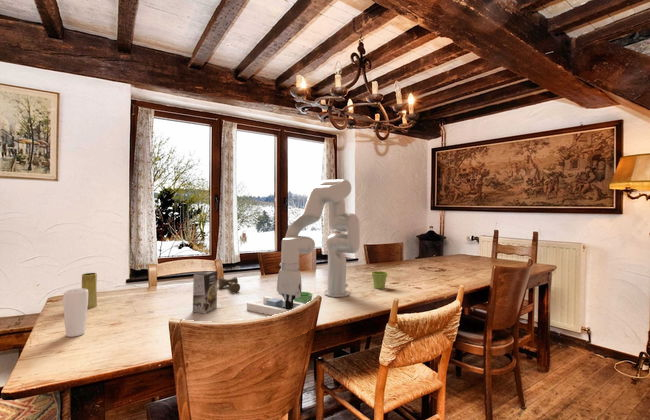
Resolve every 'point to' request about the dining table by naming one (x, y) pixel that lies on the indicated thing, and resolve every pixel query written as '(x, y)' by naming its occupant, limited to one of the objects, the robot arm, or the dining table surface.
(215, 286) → the coffee box
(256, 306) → the channel
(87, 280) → the vase
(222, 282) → the kendama
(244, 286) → the dining table surface
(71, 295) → the drinking glass
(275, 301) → the block
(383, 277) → the plant pot
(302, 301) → the ramekin
